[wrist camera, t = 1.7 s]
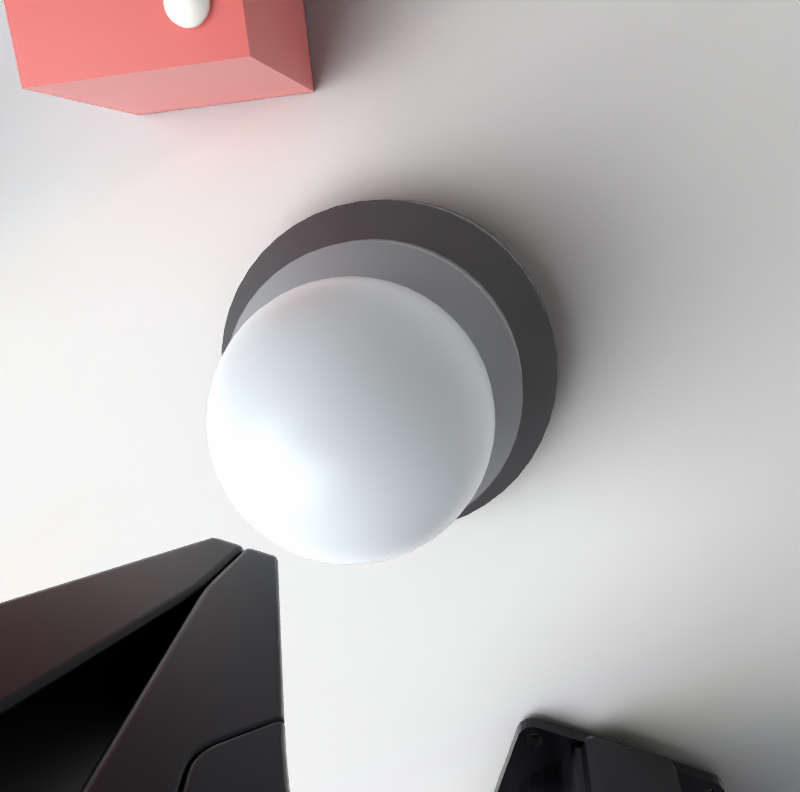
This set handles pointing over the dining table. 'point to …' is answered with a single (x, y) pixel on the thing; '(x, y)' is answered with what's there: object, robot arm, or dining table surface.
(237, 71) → the red die
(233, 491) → the dome popper
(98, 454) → the dining table surface
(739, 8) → the dining table surface
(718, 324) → the dining table surface
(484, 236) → the base
